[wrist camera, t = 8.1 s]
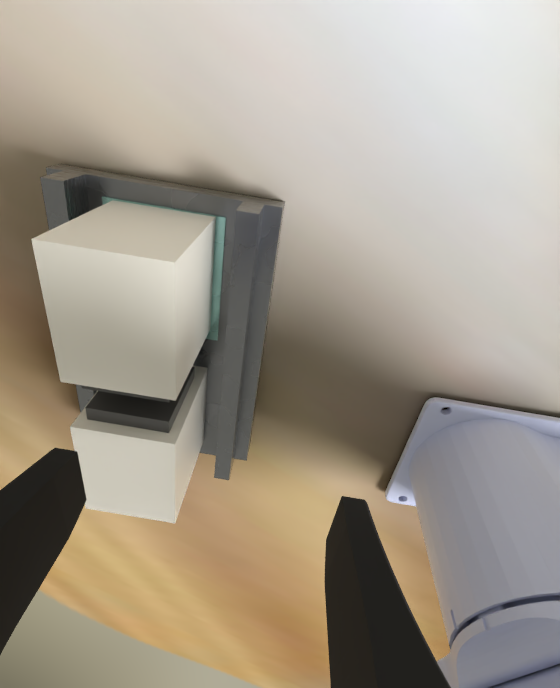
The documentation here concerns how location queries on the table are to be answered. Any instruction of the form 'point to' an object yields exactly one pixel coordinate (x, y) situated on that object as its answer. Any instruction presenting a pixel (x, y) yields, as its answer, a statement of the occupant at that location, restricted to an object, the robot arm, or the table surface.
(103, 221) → the white cardboard box
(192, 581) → the table surface
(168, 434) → the white and grey block
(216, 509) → the table surface
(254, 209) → the sliding window
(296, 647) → the table surface
